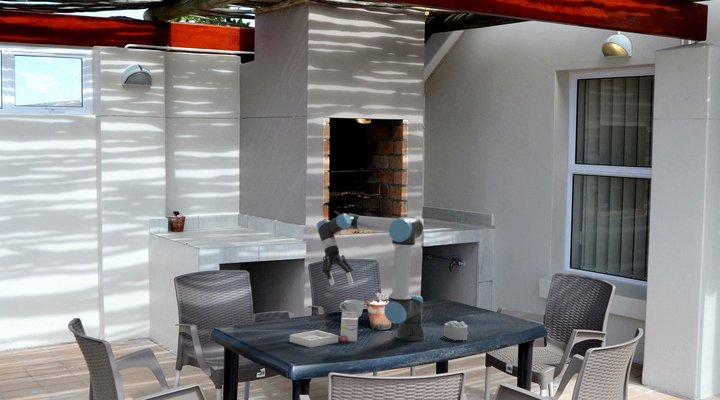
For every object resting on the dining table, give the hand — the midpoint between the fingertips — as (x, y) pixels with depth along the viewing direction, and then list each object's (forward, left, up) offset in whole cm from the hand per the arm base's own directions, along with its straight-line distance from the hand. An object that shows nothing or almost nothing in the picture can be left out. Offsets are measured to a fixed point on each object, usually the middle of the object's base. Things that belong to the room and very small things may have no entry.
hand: (342, 284), depth 471 cm
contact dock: (-2, +20, -27) cm, 34 cm away
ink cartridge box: (-10, +3, -28) cm, 30 cm away
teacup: (+29, -37, -28) cm, 54 cm away
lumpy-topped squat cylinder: (-41, -47, -28) cm, 68 cm away
